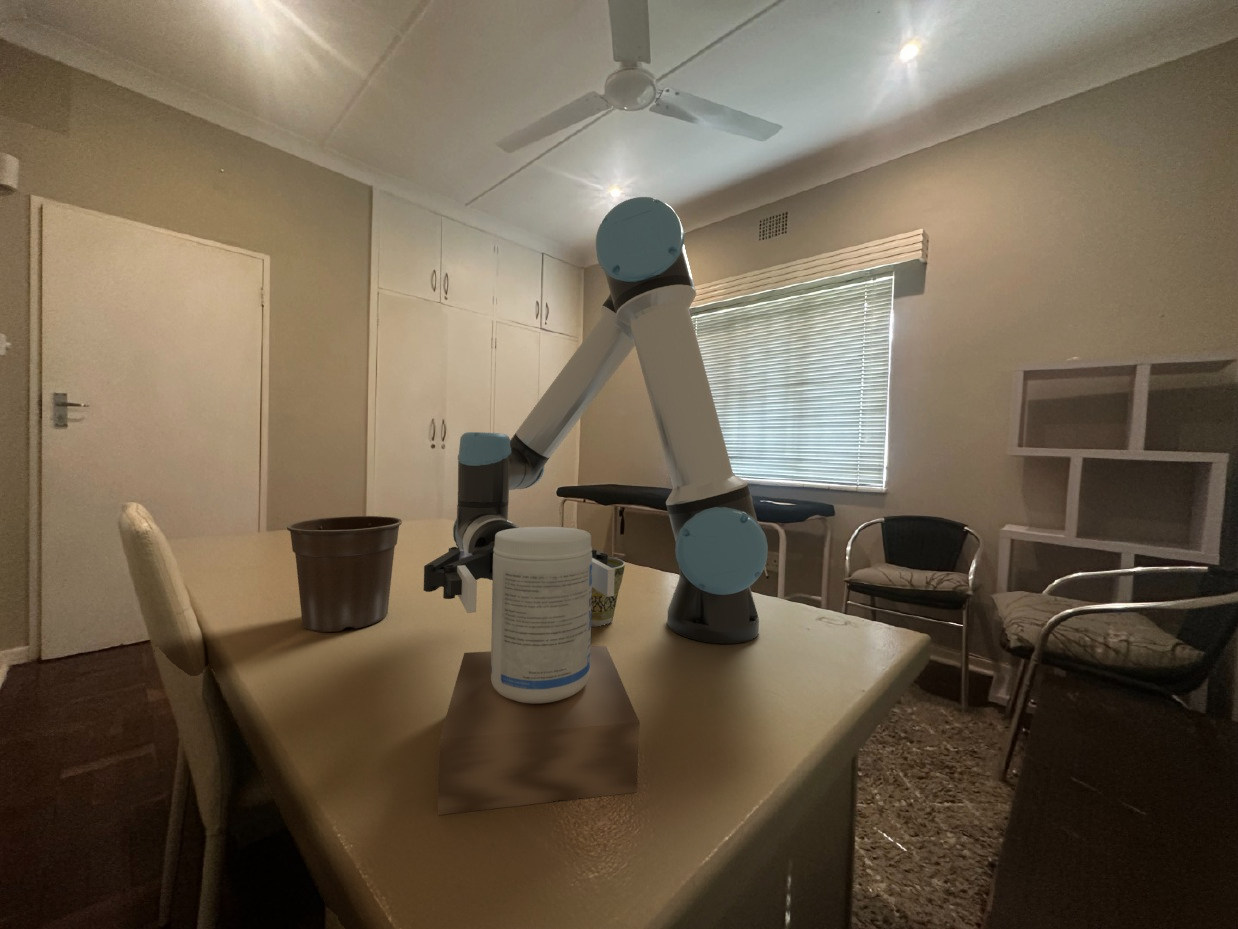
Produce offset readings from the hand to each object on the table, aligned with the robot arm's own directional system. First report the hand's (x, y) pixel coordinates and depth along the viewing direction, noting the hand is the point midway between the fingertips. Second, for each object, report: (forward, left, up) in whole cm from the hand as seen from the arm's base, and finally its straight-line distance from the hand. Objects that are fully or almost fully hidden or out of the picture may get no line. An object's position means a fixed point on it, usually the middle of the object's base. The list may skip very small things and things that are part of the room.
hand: (546, 589), depth 44 cm
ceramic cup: (-11, -36, -16) cm, 41 cm away
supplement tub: (0, -1, -10) cm, 10 cm away
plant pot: (+30, -39, -16) cm, 52 cm away
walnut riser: (0, -1, -15) cm, 16 cm away
